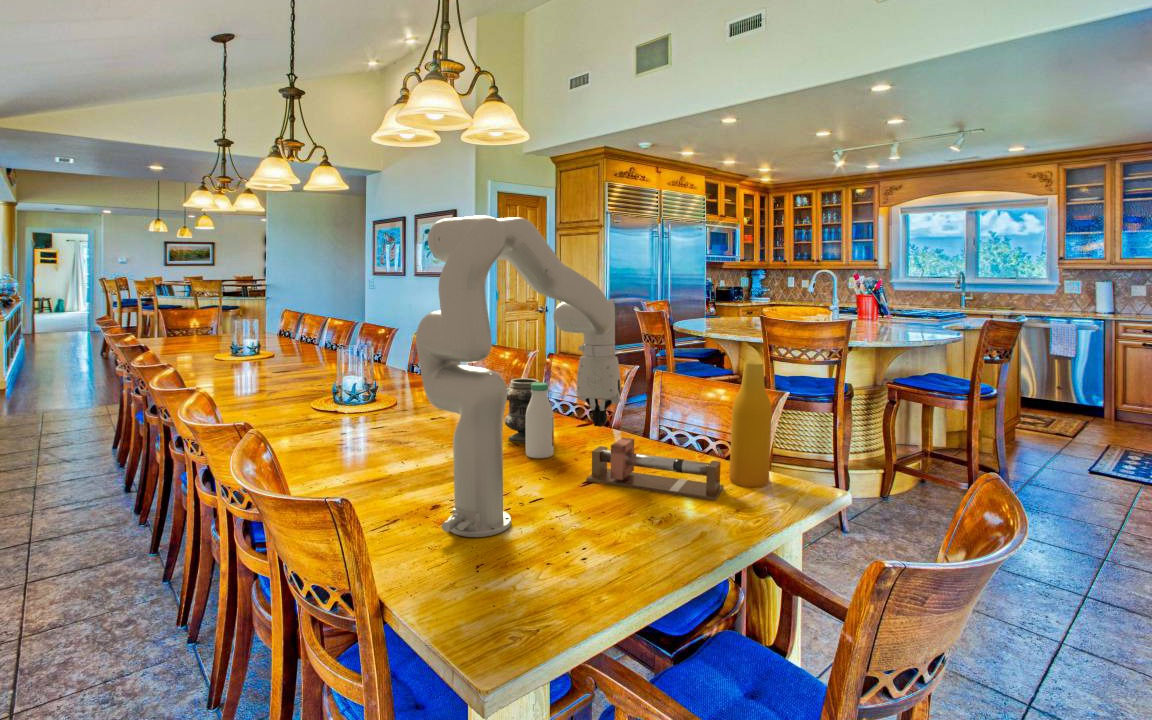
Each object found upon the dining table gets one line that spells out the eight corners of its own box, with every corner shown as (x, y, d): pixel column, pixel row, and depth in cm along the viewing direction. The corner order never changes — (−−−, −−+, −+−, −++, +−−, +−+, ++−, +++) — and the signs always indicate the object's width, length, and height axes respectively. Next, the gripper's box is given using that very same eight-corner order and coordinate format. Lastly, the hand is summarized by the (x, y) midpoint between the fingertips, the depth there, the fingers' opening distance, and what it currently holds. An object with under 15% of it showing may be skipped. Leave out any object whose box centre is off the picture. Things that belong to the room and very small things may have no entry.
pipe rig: (715, 501, 139) (716, 470, 138) (586, 481, 152) (586, 452, 151) (723, 488, 147) (724, 459, 146) (600, 470, 160) (601, 443, 159)
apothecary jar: (552, 437, 192) (552, 379, 189) (529, 446, 182) (528, 385, 179) (520, 432, 198) (520, 375, 196) (496, 440, 188) (495, 381, 185)
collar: (622, 479, 148) (622, 446, 147) (610, 478, 149) (610, 445, 148) (633, 470, 155) (634, 438, 154) (622, 468, 157) (622, 437, 155)
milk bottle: (549, 460, 169) (549, 386, 166) (522, 458, 170) (521, 385, 167) (556, 452, 176) (556, 381, 173) (529, 450, 178) (529, 380, 175)
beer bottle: (741, 489, 146) (746, 366, 142) (722, 477, 155) (726, 360, 151) (776, 486, 149) (782, 365, 145) (755, 474, 157) (760, 359, 153)
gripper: (564, 351, 151) (565, 425, 154) (622, 354, 145) (622, 432, 147) (577, 347, 157) (578, 418, 160) (633, 350, 151) (633, 424, 154)
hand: (599, 425), depth 154 cm, fingers closed
